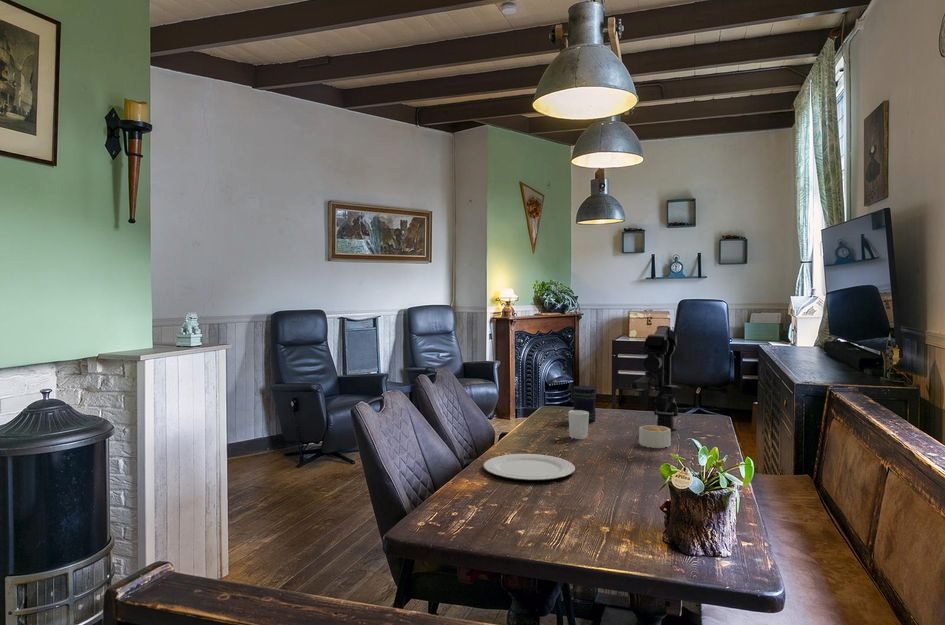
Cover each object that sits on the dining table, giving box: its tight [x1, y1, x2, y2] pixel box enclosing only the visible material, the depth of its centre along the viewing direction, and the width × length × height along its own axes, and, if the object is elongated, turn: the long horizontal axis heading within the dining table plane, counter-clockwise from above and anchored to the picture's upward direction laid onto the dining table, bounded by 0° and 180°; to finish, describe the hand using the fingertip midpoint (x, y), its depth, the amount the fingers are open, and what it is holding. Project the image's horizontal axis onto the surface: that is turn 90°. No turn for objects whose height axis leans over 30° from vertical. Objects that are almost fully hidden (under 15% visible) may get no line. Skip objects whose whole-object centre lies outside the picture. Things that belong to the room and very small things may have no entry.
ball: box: [648, 427, 661, 431], centre depth 234 cm, size 6×6×6 cm
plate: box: [483, 453, 576, 482], centre depth 199 cm, size 29×29×2 cm
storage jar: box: [572, 385, 597, 424], centre depth 276 cm, size 10×10×15 cm
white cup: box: [568, 410, 589, 440], centre depth 245 cm, size 8×8×10 cm
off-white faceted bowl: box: [638, 424, 672, 449], centre depth 234 cm, size 11×11×6 cm
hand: (655, 410), depth 234 cm, fingers open, 9 cm apart
